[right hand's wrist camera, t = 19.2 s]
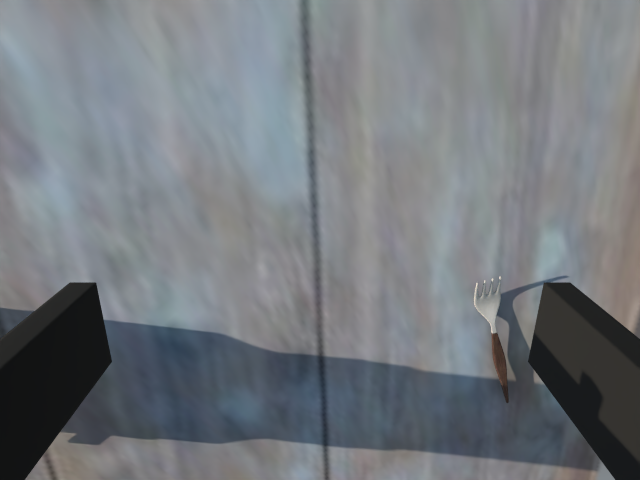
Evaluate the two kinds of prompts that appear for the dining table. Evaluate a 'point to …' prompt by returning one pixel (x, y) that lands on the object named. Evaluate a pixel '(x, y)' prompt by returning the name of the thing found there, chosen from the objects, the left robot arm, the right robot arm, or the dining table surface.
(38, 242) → the dining table surface
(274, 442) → the dining table surface
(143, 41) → the dining table surface
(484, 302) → the fork
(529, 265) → the dining table surface
